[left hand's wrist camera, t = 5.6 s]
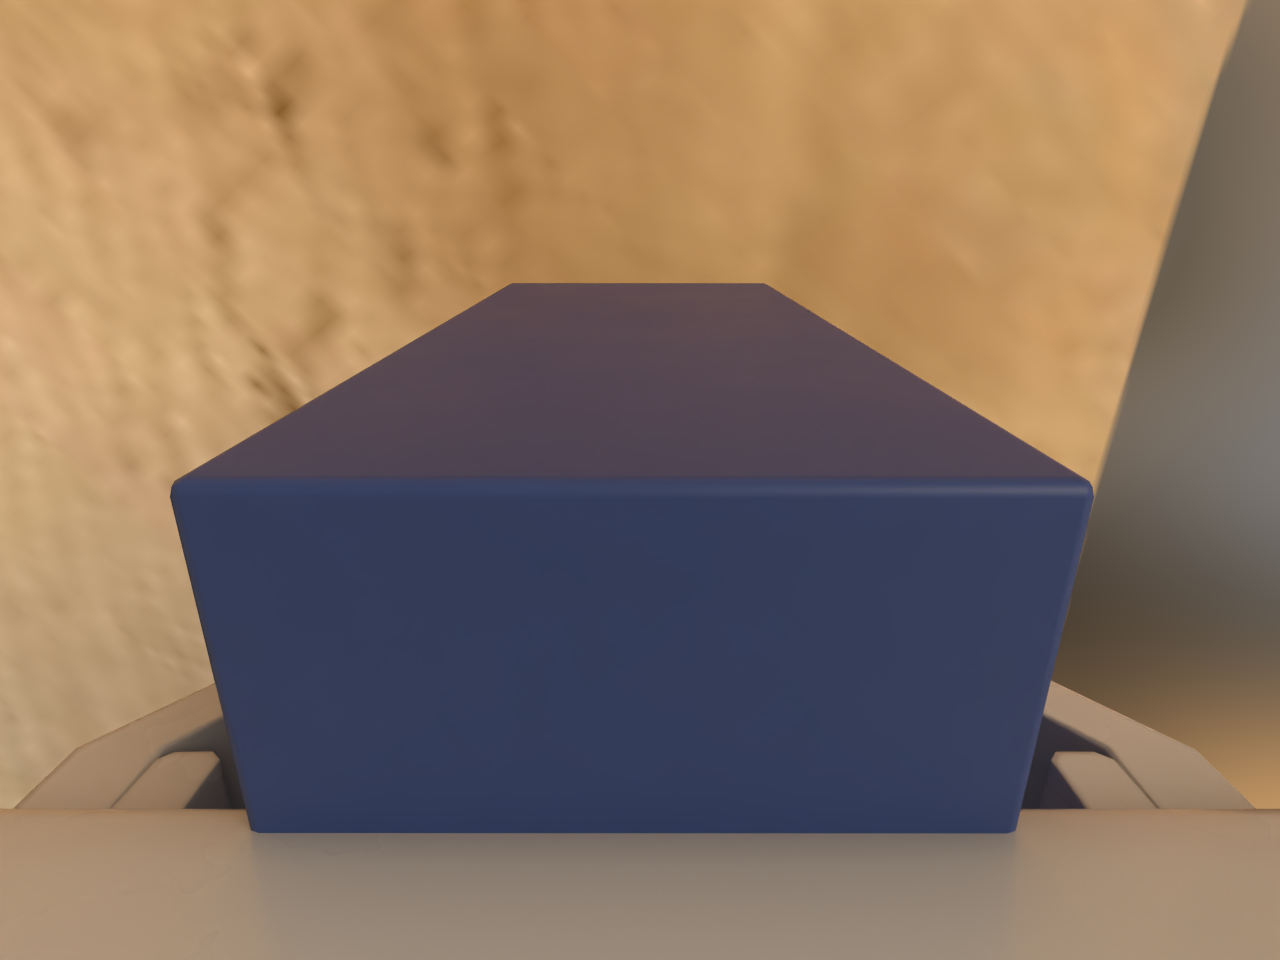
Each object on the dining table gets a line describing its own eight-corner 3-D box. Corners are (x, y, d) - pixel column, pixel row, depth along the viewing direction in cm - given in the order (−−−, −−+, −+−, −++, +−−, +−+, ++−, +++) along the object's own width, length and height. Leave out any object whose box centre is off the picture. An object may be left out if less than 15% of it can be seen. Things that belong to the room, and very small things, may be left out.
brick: (530, 652, 17) (364, 1323, 7) (508, 283, 14) (156, 481, 4) (746, 652, 17) (904, 1324, 7) (767, 283, 14) (1106, 481, 4)
